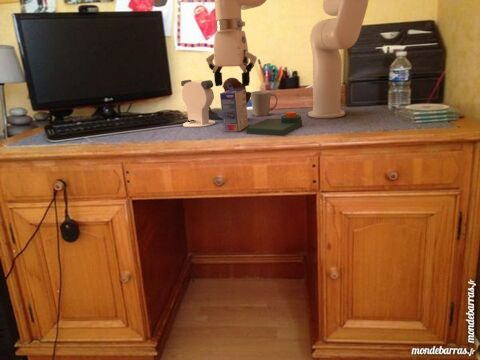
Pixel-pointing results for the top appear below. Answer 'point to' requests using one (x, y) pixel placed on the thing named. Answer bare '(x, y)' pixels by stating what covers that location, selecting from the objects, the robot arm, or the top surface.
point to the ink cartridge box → (234, 109)
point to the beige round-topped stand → (198, 102)
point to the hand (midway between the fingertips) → (232, 85)
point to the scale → (276, 126)
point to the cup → (262, 102)
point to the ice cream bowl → (236, 87)
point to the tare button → (290, 114)
